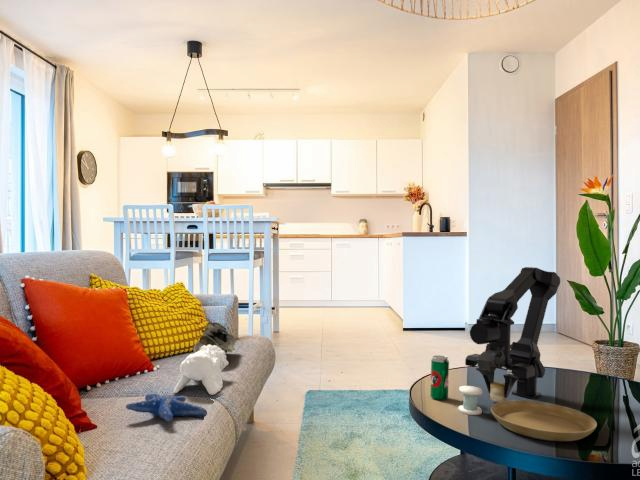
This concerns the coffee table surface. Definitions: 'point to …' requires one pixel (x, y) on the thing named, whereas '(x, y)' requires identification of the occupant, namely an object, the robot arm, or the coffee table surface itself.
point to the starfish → (167, 407)
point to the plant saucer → (543, 420)
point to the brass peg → (497, 391)
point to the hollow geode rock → (216, 338)
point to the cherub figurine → (204, 368)
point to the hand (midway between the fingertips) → (498, 395)
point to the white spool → (470, 400)
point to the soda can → (439, 377)
